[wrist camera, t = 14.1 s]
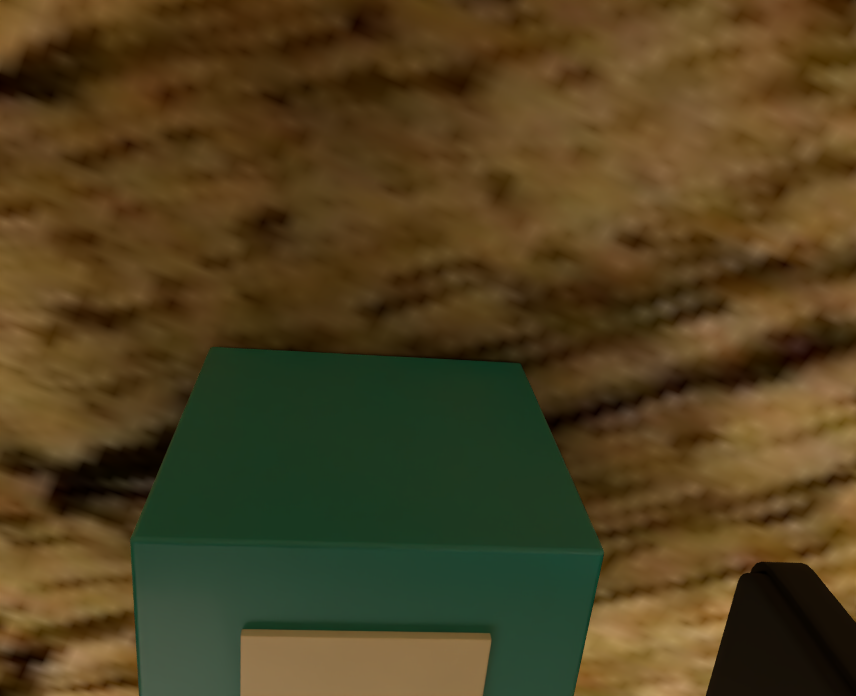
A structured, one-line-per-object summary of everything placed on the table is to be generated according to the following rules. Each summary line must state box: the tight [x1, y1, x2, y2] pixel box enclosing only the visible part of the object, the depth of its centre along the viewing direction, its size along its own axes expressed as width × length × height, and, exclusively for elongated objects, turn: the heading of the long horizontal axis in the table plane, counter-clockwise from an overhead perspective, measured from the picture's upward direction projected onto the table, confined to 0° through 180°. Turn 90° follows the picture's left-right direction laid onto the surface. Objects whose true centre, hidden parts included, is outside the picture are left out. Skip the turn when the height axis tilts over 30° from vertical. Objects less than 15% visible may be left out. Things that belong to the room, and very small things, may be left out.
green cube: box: [130, 347, 604, 696], centre depth 10 cm, size 4×4×4 cm
